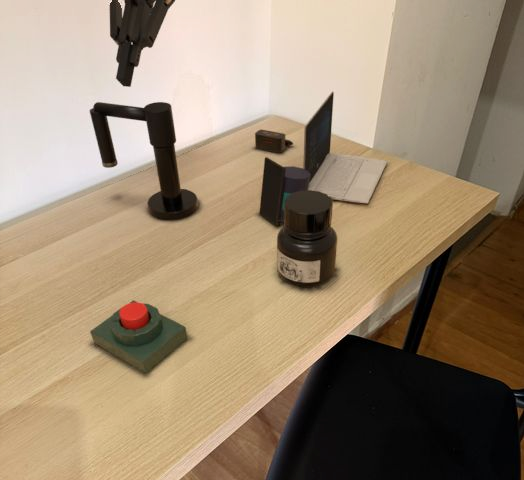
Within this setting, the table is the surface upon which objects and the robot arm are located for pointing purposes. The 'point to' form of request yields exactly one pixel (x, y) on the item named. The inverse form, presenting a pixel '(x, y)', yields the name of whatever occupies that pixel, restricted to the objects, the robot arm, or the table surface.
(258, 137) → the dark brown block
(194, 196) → the round black base
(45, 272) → the table surface
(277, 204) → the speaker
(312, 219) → the ink bottle
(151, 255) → the table surface
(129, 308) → the button
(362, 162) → the laptop
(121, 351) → the control box
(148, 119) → the crank handle
